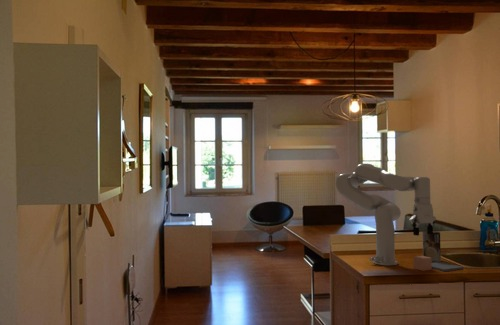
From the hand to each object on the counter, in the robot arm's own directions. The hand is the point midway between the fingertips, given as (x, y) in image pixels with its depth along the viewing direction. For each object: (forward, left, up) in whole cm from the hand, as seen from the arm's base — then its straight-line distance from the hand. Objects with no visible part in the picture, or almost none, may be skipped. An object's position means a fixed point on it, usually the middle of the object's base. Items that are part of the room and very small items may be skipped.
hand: (423, 234), depth 223 cm
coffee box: (+21, +13, -18) cm, 30 cm away
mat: (+12, -2, -18) cm, 21 cm away
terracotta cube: (0, 0, -18) cm, 18 cm away
